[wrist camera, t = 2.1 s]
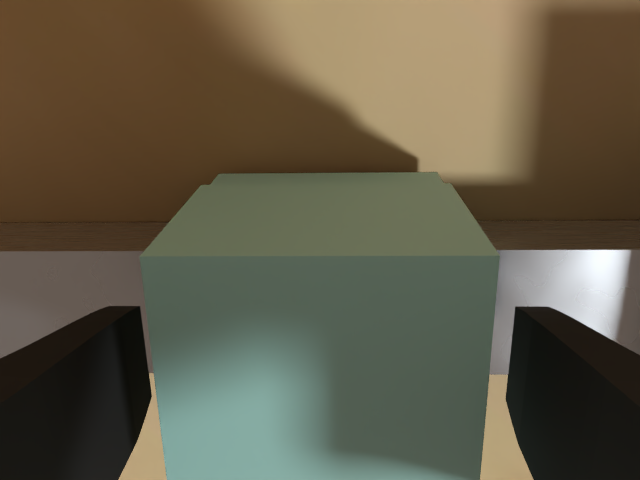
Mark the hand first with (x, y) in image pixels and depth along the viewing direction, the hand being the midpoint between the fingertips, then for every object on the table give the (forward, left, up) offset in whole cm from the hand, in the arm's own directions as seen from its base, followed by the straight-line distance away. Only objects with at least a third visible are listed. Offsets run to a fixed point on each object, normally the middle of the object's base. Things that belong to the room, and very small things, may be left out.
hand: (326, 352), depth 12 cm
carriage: (0, 0, -4) cm, 4 cm away
